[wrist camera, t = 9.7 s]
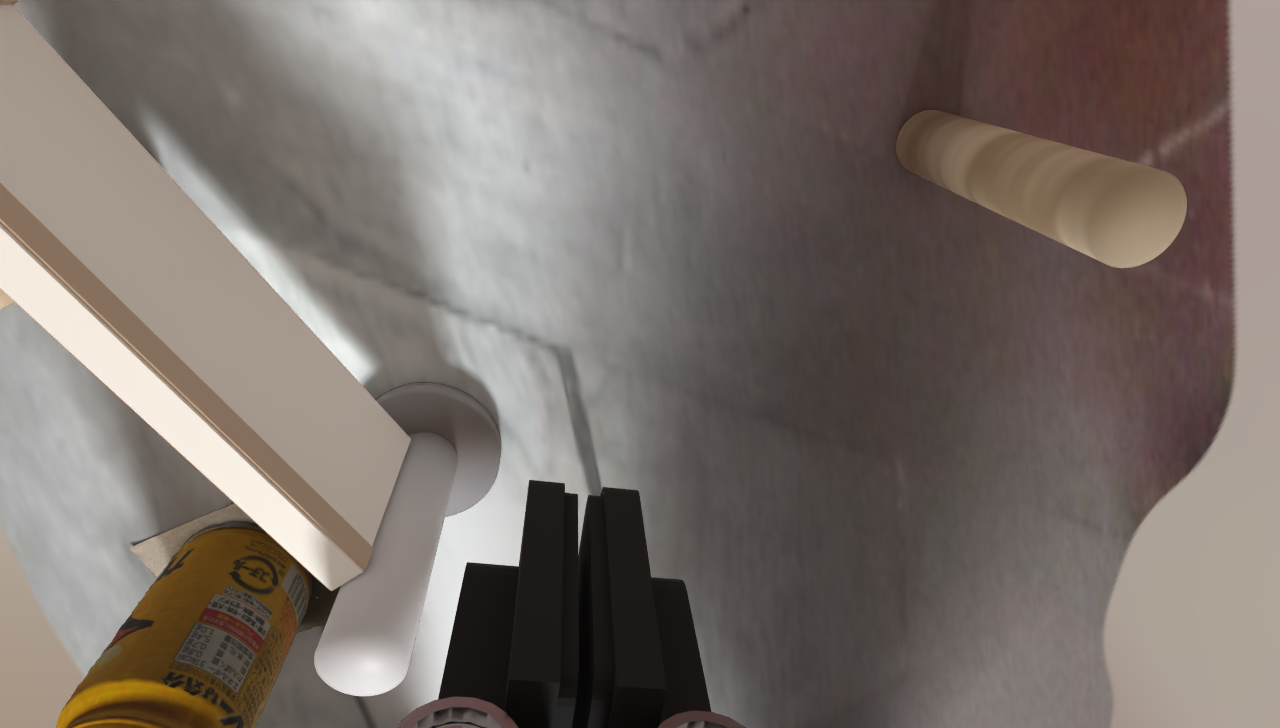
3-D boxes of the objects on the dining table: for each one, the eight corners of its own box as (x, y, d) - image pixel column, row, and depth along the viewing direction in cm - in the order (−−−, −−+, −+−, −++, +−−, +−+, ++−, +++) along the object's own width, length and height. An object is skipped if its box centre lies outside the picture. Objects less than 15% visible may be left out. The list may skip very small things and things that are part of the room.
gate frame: (983, 192, 30) (1215, 292, 20) (412, 530, 35) (342, 767, 24) (771, -319, 23) (950, -608, 12) (85, 186, 28) (-231, 300, 17)
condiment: (132, 545, 34) (-75, 798, 23) (302, 472, 33) (172, 698, 22) (232, 656, 37) (92, 927, 26) (391, 592, 36) (315, 843, 25)
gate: (470, 465, 32) (427, 669, 22) (421, 496, 33) (357, 709, 23) (3, -59, 23) (-415, -110, 13) (-57, -7, 24) (-505, -20, 14)
